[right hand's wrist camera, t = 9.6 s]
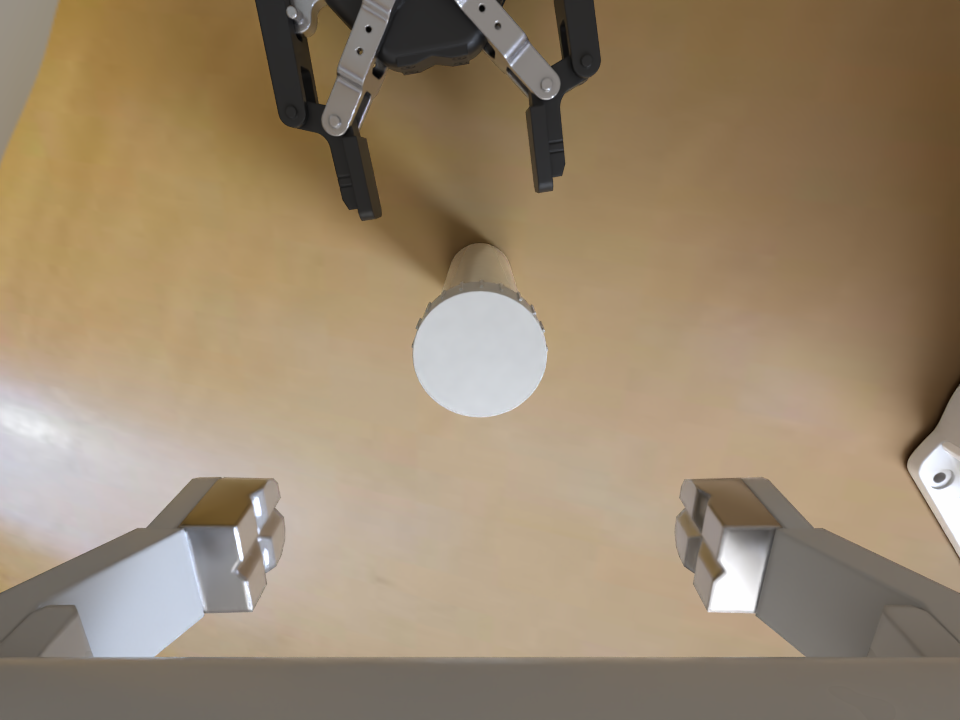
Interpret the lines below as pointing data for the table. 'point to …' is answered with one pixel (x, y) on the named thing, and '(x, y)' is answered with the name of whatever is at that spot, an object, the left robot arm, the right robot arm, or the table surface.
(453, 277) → the bottle
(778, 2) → the table surface
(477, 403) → the lid
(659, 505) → the table surface
